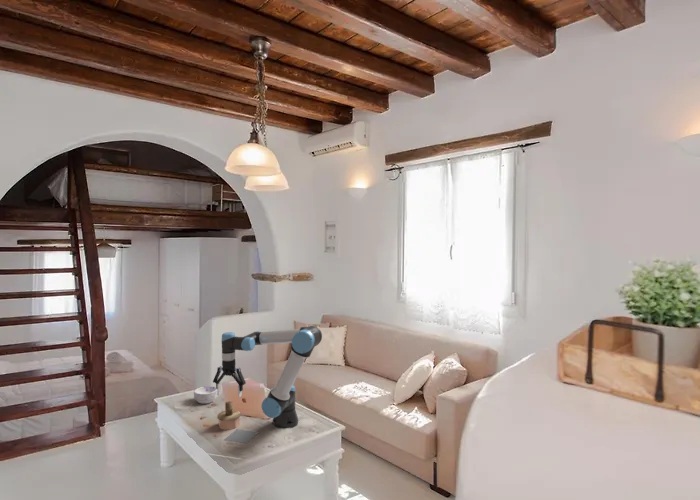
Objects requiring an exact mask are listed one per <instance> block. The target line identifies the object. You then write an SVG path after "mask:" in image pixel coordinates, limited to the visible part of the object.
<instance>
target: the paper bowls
mask: <svg viewBox="0 0 700 500" xmlns="http://www.w3.org/2000/svg"><path fill="white" fill-rule="evenodd" d="M218 396H219V395H217V389H216V386H213V385H206V386H201V387H198V388H195V390H194V391H193V399H194V401H197V402H198V403H199V404H201V405H202V404H203V405H204V404H205V405H206V404H210V403H213V402H214V400H215V399H216V398H217V397H218Z"/></svg>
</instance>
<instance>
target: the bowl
mask: <svg viewBox="0 0 700 500" xmlns="http://www.w3.org/2000/svg"><path fill="white" fill-rule="evenodd" d="M239 425H240V417H239V418H237V419H235V420H231V421H221V420H219V419H218V427H219V429H221V430H226V431H227V430H234V429H237V428H238V426H239Z"/></svg>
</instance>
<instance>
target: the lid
mask: <svg viewBox="0 0 700 500" xmlns="http://www.w3.org/2000/svg"><path fill="white" fill-rule="evenodd" d="M224 408H225V410H224V411H221V412H219V413H218V414H217V417H216V418H217V420H218V421H219V420H221V421H231V420H235V419H237V418H239V419H240V417H241V412H240V411H239V410H236V409H233V401H230V400H229V401H225V406H224Z"/></svg>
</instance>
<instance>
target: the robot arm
mask: <svg viewBox="0 0 700 500" xmlns="http://www.w3.org/2000/svg"><path fill="white" fill-rule="evenodd" d="M322 338H323V333H322V331H321V330H320V328H319V327H318V326H316V325H308V326H302V327H300V328H296V329H283V330H272V331H271V330H269V331H260V330H258V331H253V332H251V333H249V334H247V335H246V334H245V335H244V336H236V333H235V332H232V331H228V332H223V333H222V334H221V366H219V367H217V368H216V369H217V370H216V373H215V376H214V377H213V380H212V383H215V387H216V389H217V395H218V396H220V395H221V394H222V383H221V381H222V380H223V379H224V378H225V376H229V377H232V378H233V379H234V380H235V382H236V384H238V385H237V398H240V397H242V396H243V395H242V393H243V391H244V387H243V386H244V385H246V384H247V382H246V379H245V377H244V375H243V373H242V371H241V369H242V368H241V367H237V368H236V364H237V363H236V351H244V352H249V351H250V352H251V351H253V350H254V348H255V346H260V345H264V346H265V345H275V344H276V345H278V344H291V346H290V350H291V352H290V355H289V356H288V359H287V361H286V363H285V365H284V367H283V369H282V372H281V374H280V375H279V378H278V380H277V382H276V384H275V386H273V387H271V388H270V390H269V392H268V394H267V396H266V398H264V399H263V400H262V402H261V410H262V412H263V414H264V415H265V416H266V417H268V418H272V425H273V426H274V427H275V428H279V429H280V428H281V429H288V428H289V429H291V428H294V427H296V426H297V425H299V416H298V414H297V410H296V392H297V391H296V387H295V385H294V383H295V381H296V379H297V377H298V375H299V373H300V371H301V368H302V367H303V365H304V362H305V361H306V359H307V358H310V357H311V354H312V353H313V351H314V348H315V347H316V346H318V345H319V344H320V343H321V342H322V340H323V339H322ZM221 372H222V373H221Z"/></svg>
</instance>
